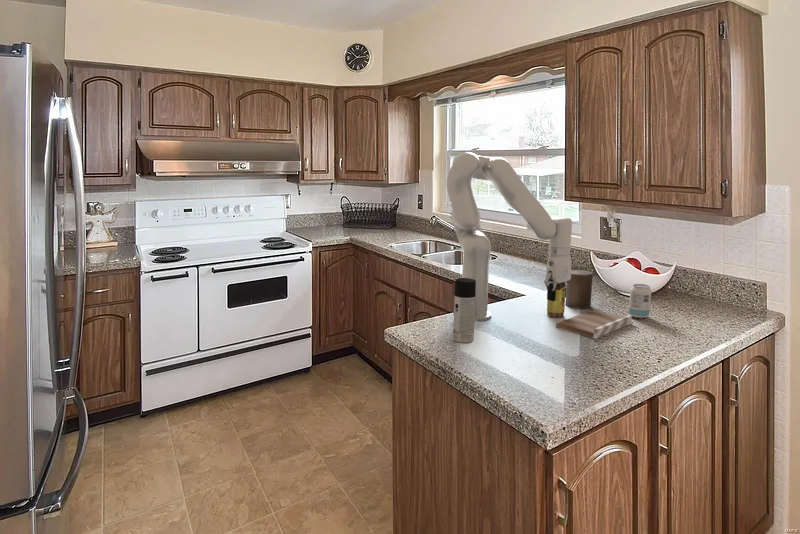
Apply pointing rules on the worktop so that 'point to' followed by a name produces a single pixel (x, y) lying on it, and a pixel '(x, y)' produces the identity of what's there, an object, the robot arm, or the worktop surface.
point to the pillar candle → (579, 289)
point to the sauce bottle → (557, 301)
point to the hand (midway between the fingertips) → (556, 298)
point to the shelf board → (594, 323)
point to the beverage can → (639, 301)
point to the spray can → (464, 310)
